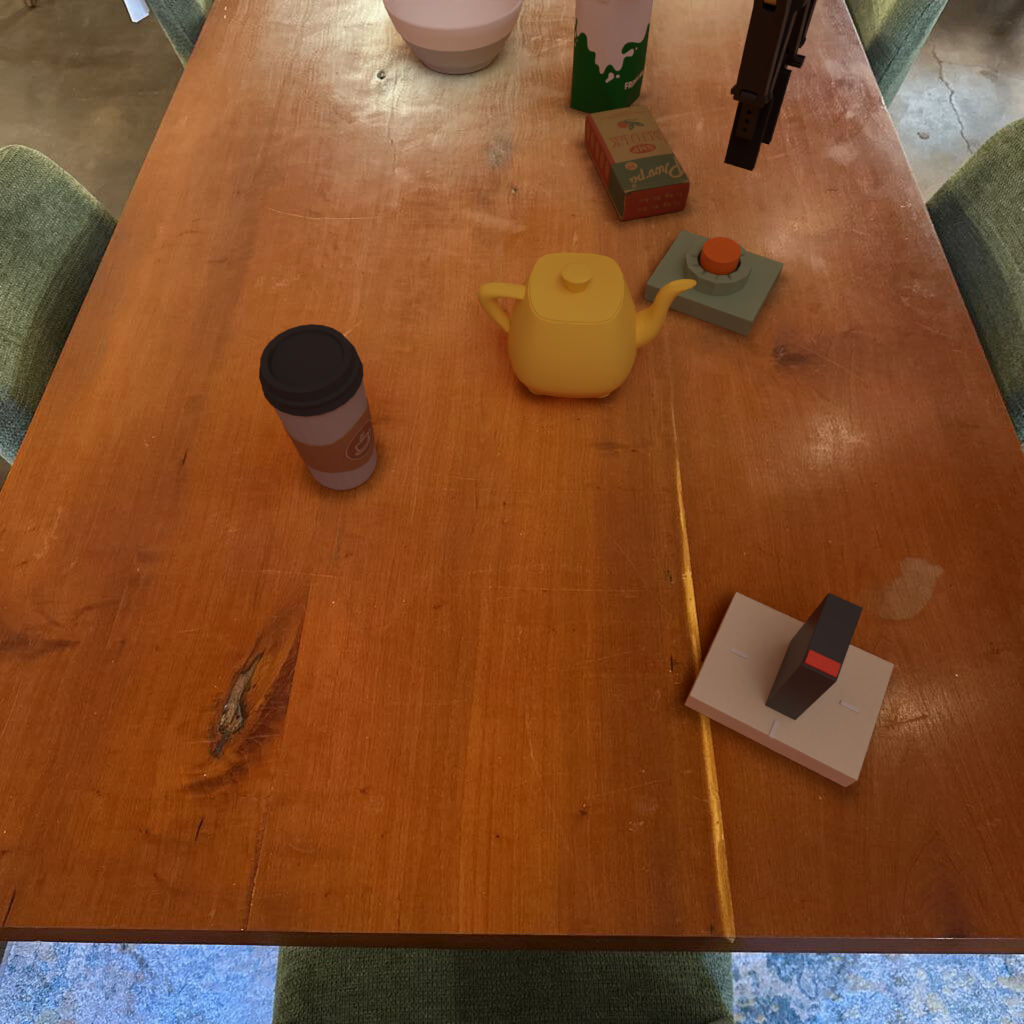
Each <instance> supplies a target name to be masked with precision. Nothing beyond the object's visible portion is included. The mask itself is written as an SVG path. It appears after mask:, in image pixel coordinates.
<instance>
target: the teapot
mask: <svg viewBox="0 0 1024 1024" xmlns="http://www.w3.org/2000/svg"><path fill="white" fill-rule="evenodd" d="M621 269H622V268H620V266H619V264H618V263H617V261H616V260H614V259H613V258H611V257H609V256H606V255H603V254H597V253H588V252H570V251H569V252H552V253H548V254H545V255H543V256H541V257H540V258H539V259H538V260H537V261H536V262H535V264H534V266H532V268H531V270H530V271H529V273H528V275H527V277H526V278H525V280H524V282H523V284H518V283H511V282H504V281H502V282H501V281H491V282H486V283H483V284H481V286H480V287H479V288H478V291H477V299H478V303H479V305H480V306H481V309H482V310H483V311H484V313H485V314H486V315H487V316H488V317H489V318H490V319H491V320H492V321H493V322H494V323H495V324H496V326H498V327H499V328H500V329H501V330H503V331H504V333H505V334H507V351H508V358H509V361H510V364H511V368H512V370H513V371H514V374H515V376H516V377H517V379H518V380H519V382H520V383H522V384H523V385H524V386H525V387H526V388H528V391H529V392H531V393H532V394H534V395H538V396H542V395H544V396H547V397H548V396H549V397H555V398H568V399H591V398H596V399H603V398H606V397H608V396H609V395H610V394H611V393H613V392H614V391H615V390H617V389H618V388H620V387H621V386H622V385H623V384H624V383H625V381H626V380H627V378H628V377H629V375H630V373H631V371H632V368H633V367H634V364H635V361H636V358H637V353H638V349H641V348H644V347H645V346H647V345H649V344H650V343H651V342H653V341H654V340H655V338H657V336H658V335H659V334H660V332H661V331H662V329H663V326H664V324H665V321H666V319H667V315H668V312H669V309H670V308H669V307H670V305H671V303H672V301H673V300H674V299H675V298H676V297H677V296H678V295H679V294H680V293H682V292H684V291H686V290H688V289H690V288H692V287H694V286H695V285H696V283H697V282H696V281H695V280H692V279H681V280H675V281H672V282H670V283H668V284H666V285H665V286H663V287H662V288H661V289H660V290H659V292H658V293H657V295H656V297H655V300H654V302H652V304H651V305H650V306H648V307H647V308H645V309H643V310H640V311H636V305H635V302H634V299H633V296H632V293H631V290H630V287H629V285H628V283H627V280H626V278H625V275H624V273H623V272H622V270H621ZM498 299H510V300H515V301H514V304H513V307H512V310H511V314H510V318H509V316H508V315H507V314H506V313H505V311H504V310H503V308H502V307H501V305H500V304H499V301H498Z"/></svg>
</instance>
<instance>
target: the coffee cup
mask: <svg viewBox="0 0 1024 1024" xmlns="http://www.w3.org/2000/svg"><path fill="white" fill-rule="evenodd" d="M258 369H259V370H258V375H259V376H258V379H259V382H260V385H261V390H262V393H263V396H264V398H265V400H266V401H267V402H268V404H269V405H270V406H272V407H273V409H274V411H275V413H276V414H277V417H278V418H279V420H280V422H281V423H282V425H283V428H284V431H285V432H286V434H287V436H288V437H289V439H290V441H291V442H292V444H293V446H294V447H295V450H296V451H297V454H299V457H300V459H302V461H303V462H304V463H305V466H306V468H307V469H308V470H309V473H310V474H311V476H312V477H313V478H314V480H315V481H316V483H318V484H320V485H321V486H322V487H326V488H328V489H330V490H334V491H347V490H348V491H349V490H352V489H355V488H358V487H359V486H361V485H363V484H364V483H366V482H367V480H369V479H370V478H371V476H372V475H373V472H374V470H375V469H376V466H377V462H378V455H377V449H376V443H375V433H374V427H373V426H374V425H373V421H372V415H371V410H370V404H369V400H368V397H367V393H366V389H365V388H366V387H365V383H364V364H363V361H362V359H361V358H360V356H359V353H358V351H357V349H356V347H355V345H354V344H352V342H350V339H348V338H347V337H346V336H345V335H344V334H343V333H342V332H341V331H339V330H337V329H335V328H334V327H331V326H329V325H328V326H327V325H325V324H313V323H309V324H301V325H296V326H294V327H291V328H288V329H285V330H284V331H281V332H280V333H279V334H277V335H276V336H275V337H273V338H272V339H271V340H270V341H269V342H268V343H267V344H266V346H265V347H264V348H263V351H262V353H261V356H260V359H259V368H258Z"/></svg>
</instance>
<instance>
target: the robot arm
mask: <svg viewBox="0 0 1024 1024" xmlns="http://www.w3.org/2000/svg"><path fill="white" fill-rule="evenodd" d="M817 1H818V0H753V5H752V9H751V14H750V19H749V24H748V28H747V33H746V37H745V42H744V45H743V50H742V56H741V60H740V63H739V69H738V73H737V79H736V82H735V84H734V85H732V87H730V93H729V94H730V95H732V100H733V101H736V102H737V106H736V110H735V114H734V119H733V123H732V127H731V132H730V135H729V140H728V143H727V149H726V151H725V156H724V162H723V163H724V164H726V165H730V166H732V167H735V168H739V169H743V170H746V171H750V172H753V171H754V170H755V168H756V164H757V162H758V158H759V154H760V150H761V146H762V144H764V145H768V146H769V145H770V144H771V142H772V140H773V137H774V135H775V134H774V133H775V130H776V127H777V123H778V120H779V116H780V113H781V109H782V106H783V103H784V99H785V96H786V92H787V89H788V86H789V82H790V79H791V75H792V69H790V68H788V67H792V68H796V69H802V67H803V66H804V62H805V60H806V57H807V56H806V55H803V54H799V53H798V52H799V49H800V50H801V49H802V48H803V47H804V46H805V44H806V41H807V35H808V31H809V28H810V24H811V21H812V18H813V14H814V11H815V8H816V4H817Z"/></svg>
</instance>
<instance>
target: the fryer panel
mask: <svg viewBox="0 0 1024 1024" xmlns="http://www.w3.org/2000/svg"><path fill="white" fill-rule="evenodd" d="M804 623H805V622H803V621H801V620H799V619H796V618H795V617H792V616H790V615H788V614H786V613H784V612H781V611H779V610H777V609H775V608H773V607H770V606H768V605H766V604H764V603H762V602H760V601H757V600H756V599H753V598H751V597H749V596H746V595H745V594H742V593H740V592H738V591H736V592H735V593H734V594H733V596H732V598H731V600H730V602H729V604H728V606H727V609H726V610H725V613H724V615H723V618H722V620H721V622H720V624H719V626H718V628H717V631H716V633H715V635H714V637H713V639H712V641H711V644H710V645H709V648H708V650H707V653H706V655H705V657H704V660H703V661H702V664H701V666H700V667H699V671H698V672H697V674H696V677H695V679H694V681H693V684H692V686H691V689H690V690H689V693H688V694H687V698H686V699H685V702H684V704H683V705H684V706H685V707H687V708H690V709H691V710H694V711H695V712H697V713H699V714H701V715H703V716H705V717H706V718H709V719H711V720H713V721H714V722H717V723H718V724H721V725H723V726H725V727H727V728H728V729H730V730H732V731H734V732H736V733H738V734H740V735H742V736H744V737H746V738H748V739H750V740H752V741H754V742H755V743H758V744H759V745H762V746H764V747H766V748H767V749H769V750H772V751H773V752H775V753H777V754H779V755H781V756H783V757H785V758H787V759H789V760H791V761H793V762H795V763H796V764H798V765H801V766H802V767H804V768H806V769H808V770H810V771H812V772H814V773H816V774H818V775H820V776H822V777H824V778H826V779H828V780H829V781H832V782H834V783H836V784H838V785H839V786H842V787H843V788H846V787H849V786H851V785H852V784H854V783H855V782H857V781H858V780H859V777H860V774H861V771H862V768H863V765H864V761H865V758H866V755H867V753H868V749H869V745H870V742H871V739H872V736H873V733H874V730H875V727H876V723H877V720H878V717H879V714H880V711H881V707H882V704H883V702H884V698H885V695H886V692H887V689H888V685H889V683H890V679H891V678H892V673H893V670H894V667H895V664H894V663H892V662H890V661H887V660H885V659H883V658H881V657H879V656H877V655H875V654H872V653H870V652H868V651H866V650H863V649H861V648H859V647H857V646H855V645H854V644H851V643H850V645H849V648H848V651H847V654H846V657H845V659H844V662H843V665H842V668H841V671H840V673H839V676H838V679H837V681H836V682H835V683H834V684H833V685H832V686H831V687H830V688H829V689H828V690H827V691H826V692H825V693H824V694H823V695H822V696H821V697H820V698H819V699H817V700H816V701H815V702H814V703H813V704H812V705H811V706H810V707H809V708H808V709H807V710H806V711H805V712H804V713H803V714H802V715H801V716H800V717H798V718H797V719H796V720H794V719H792V718H790V717H788V716H786V715H784V714H782V713H780V712H778V711H776V710H774V709H772V708H770V707H767V706H766V705H765V704H766V702H767V699H768V697H769V694H770V692H771V689H772V687H773V684H774V682H775V679H776V677H777V674H778V672H779V669H780V666H781V664H782V661H783V659H784V656H785V654H786V651H787V649H788V646H789V644H790V641H791V640H792V639H793V637H794V636H795V635H796V633H797V632H798V631H799V630H800V628H801V627H802V626H803V625H804Z"/></svg>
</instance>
